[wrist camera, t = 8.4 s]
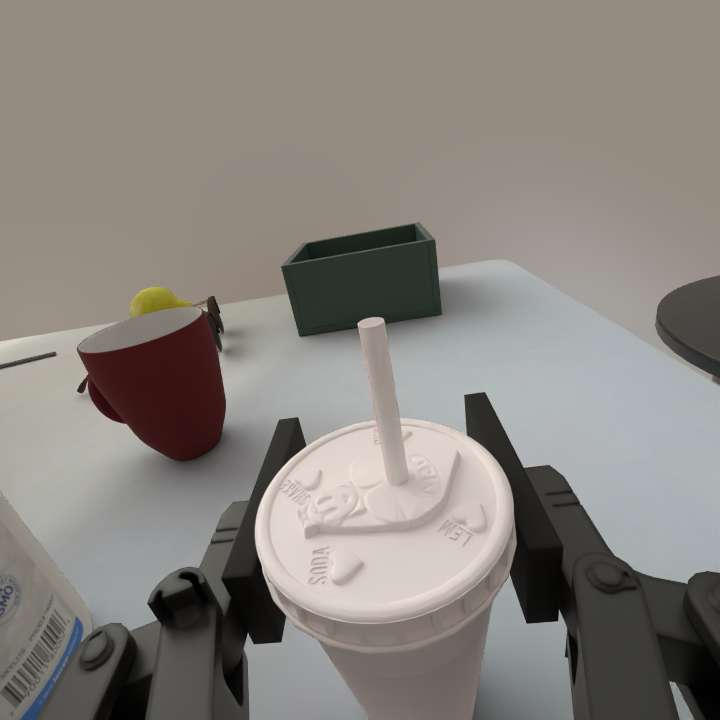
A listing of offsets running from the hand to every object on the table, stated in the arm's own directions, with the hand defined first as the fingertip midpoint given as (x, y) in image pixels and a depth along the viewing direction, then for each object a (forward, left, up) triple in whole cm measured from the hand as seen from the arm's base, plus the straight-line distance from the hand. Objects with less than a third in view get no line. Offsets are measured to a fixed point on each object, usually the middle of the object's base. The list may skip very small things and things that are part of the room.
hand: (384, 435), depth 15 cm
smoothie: (0, +5, -8) cm, 9 cm away
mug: (+17, -12, -8) cm, 22 cm away
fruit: (+38, -42, -3) cm, 57 cm away
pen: (+51, -41, -7) cm, 65 cm away
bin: (+2, -40, -8) cm, 41 cm away
